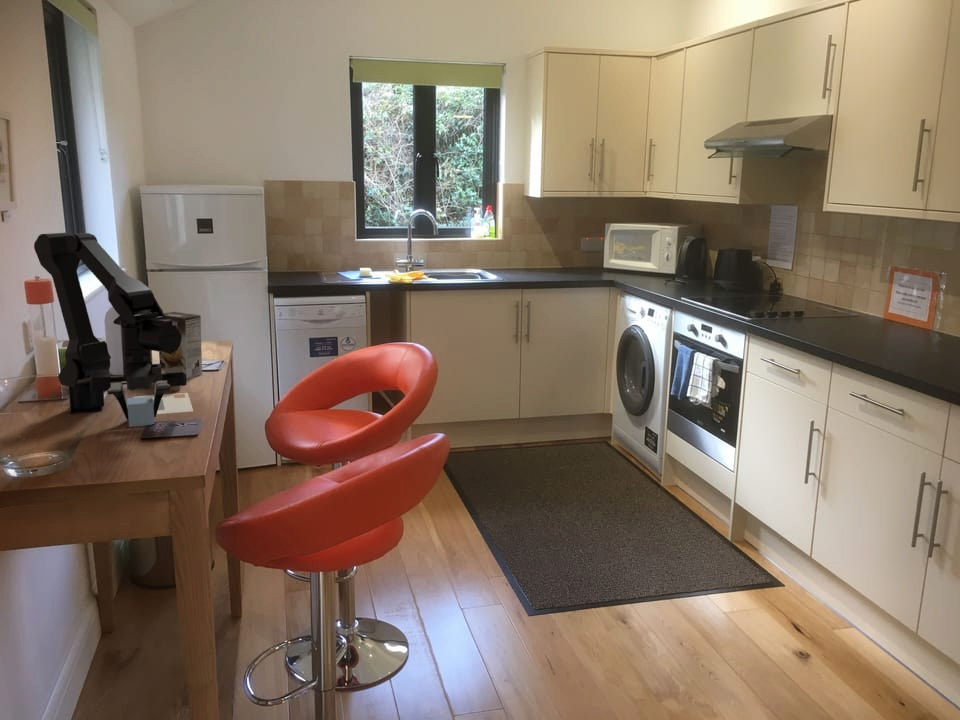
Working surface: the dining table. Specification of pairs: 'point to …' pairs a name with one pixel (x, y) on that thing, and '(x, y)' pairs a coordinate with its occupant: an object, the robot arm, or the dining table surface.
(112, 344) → the soap bottle
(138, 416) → the blue cube
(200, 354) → the coffee box
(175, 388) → the walnut block
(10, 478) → the dining table surface
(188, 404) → the letter
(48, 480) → the dining table surface
